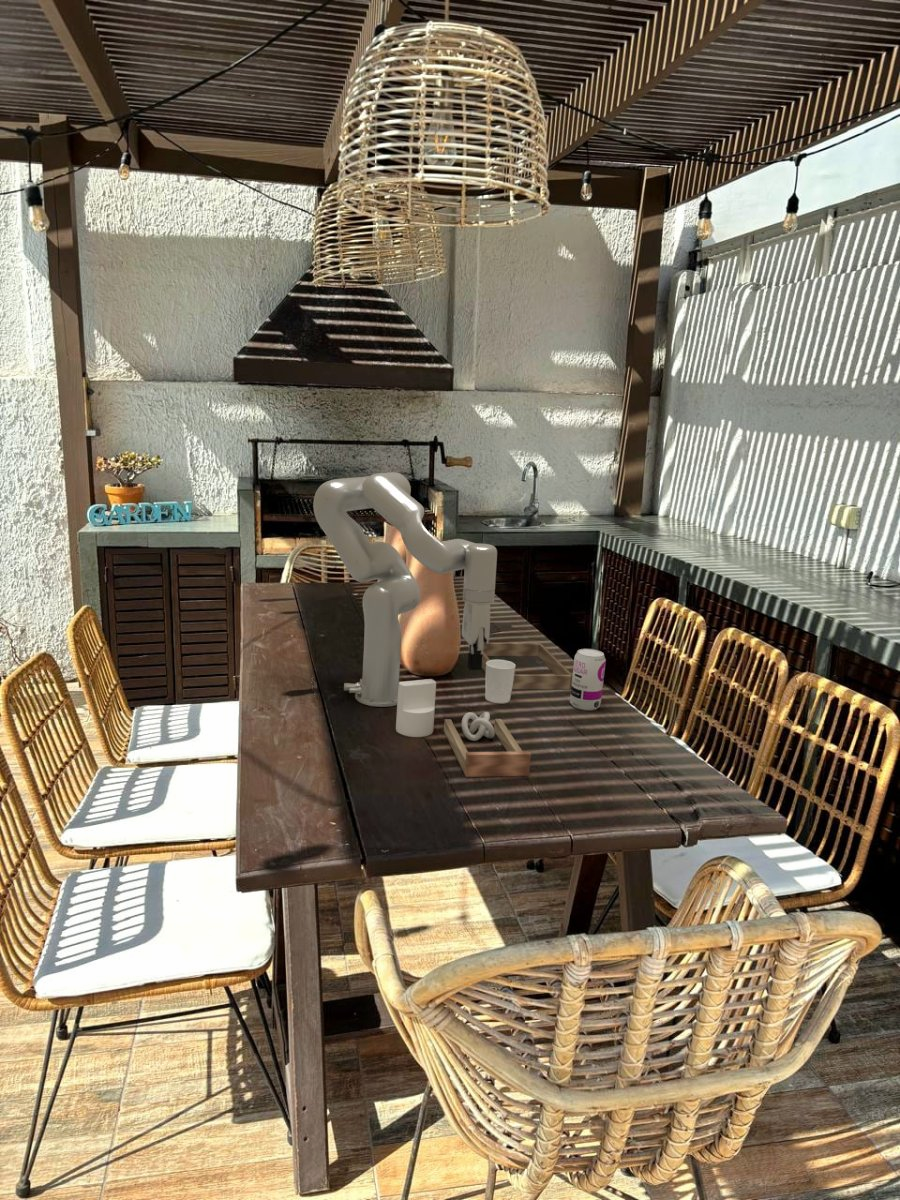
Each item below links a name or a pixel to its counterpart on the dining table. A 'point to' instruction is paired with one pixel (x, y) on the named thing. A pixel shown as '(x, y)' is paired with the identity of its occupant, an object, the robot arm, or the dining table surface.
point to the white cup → (499, 680)
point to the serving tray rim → (556, 681)
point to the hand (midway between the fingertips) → (474, 668)
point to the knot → (477, 726)
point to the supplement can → (587, 679)
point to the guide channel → (490, 754)
